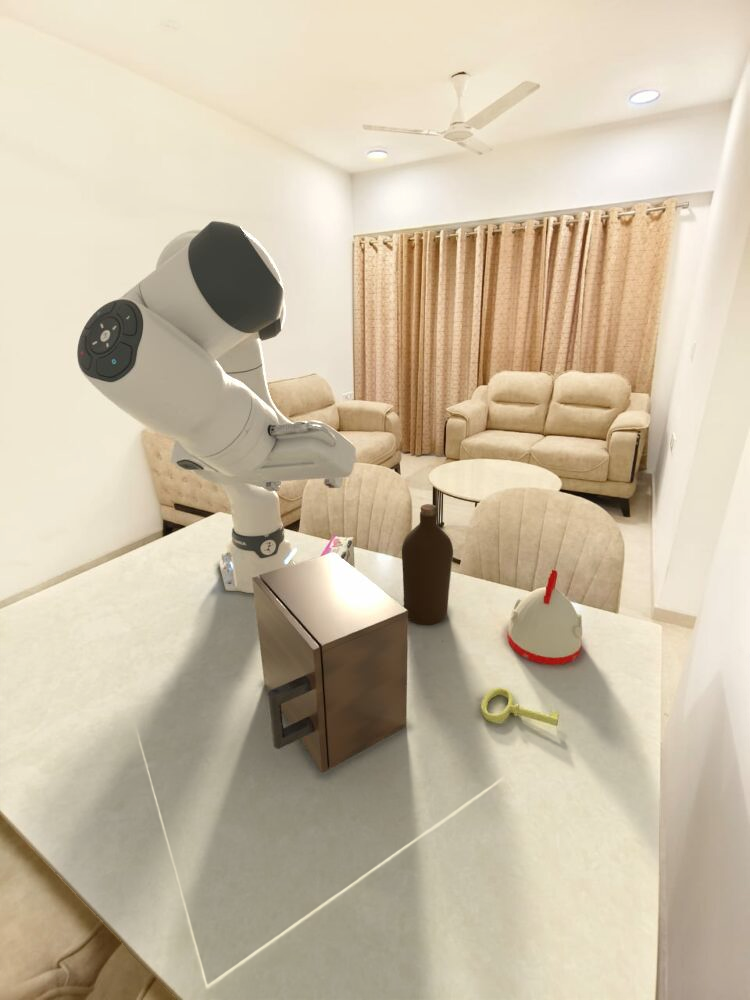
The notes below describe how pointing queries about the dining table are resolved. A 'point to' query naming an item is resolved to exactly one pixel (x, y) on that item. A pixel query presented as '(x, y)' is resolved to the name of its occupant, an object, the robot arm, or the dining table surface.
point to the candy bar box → (341, 548)
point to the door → (291, 676)
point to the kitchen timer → (546, 626)
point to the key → (514, 709)
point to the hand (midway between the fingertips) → (305, 484)
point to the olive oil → (427, 569)
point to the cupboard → (350, 649)
